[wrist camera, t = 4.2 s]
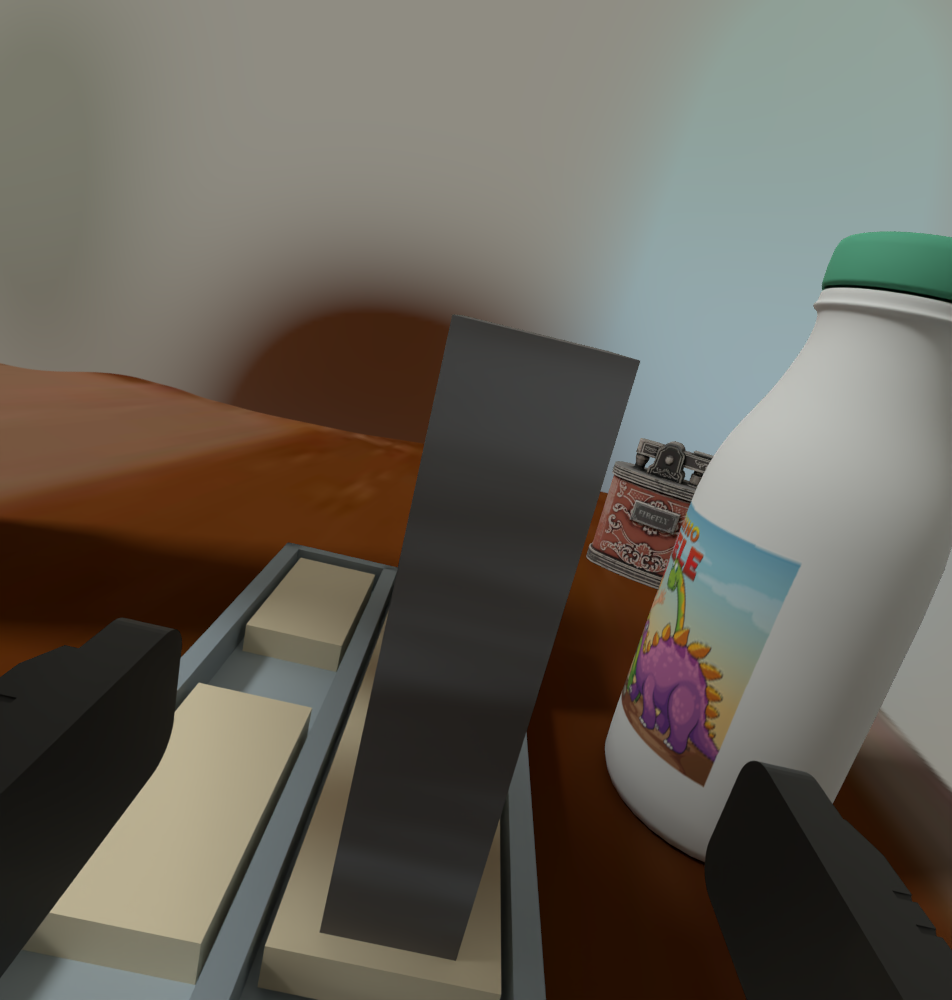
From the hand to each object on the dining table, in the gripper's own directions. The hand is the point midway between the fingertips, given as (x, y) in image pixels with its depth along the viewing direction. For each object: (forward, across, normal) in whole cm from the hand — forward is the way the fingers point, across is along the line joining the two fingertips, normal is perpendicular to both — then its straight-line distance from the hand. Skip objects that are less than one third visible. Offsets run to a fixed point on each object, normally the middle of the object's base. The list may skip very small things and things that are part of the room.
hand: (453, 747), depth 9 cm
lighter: (+35, -14, +10) cm, 39 cm away
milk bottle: (+12, -11, +10) cm, 19 cm away
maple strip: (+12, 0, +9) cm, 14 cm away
